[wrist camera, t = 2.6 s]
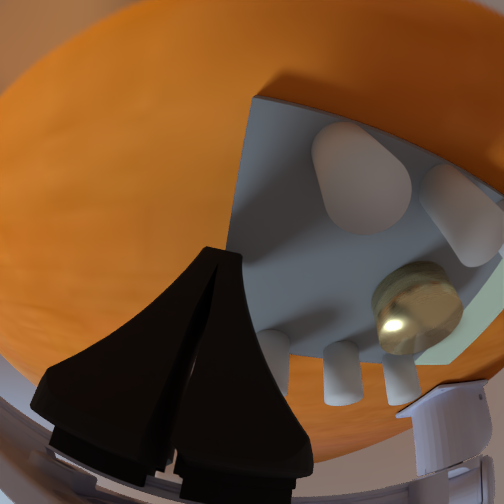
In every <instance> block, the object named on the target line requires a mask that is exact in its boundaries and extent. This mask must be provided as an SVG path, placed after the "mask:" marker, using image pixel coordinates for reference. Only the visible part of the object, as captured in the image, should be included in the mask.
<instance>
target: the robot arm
mask: <svg viewBox="0 0 504 504" xmlns="http://www.w3.org/2000/svg"><path fill="white" fill-rule="evenodd" d="M242 259H243V256H242V255H241V254H240V253H236V252H231V251H226V250H221V249H217V248H212V247H207V246H206V247H205V248H203V249H202V251H201V252H200V253H199V254H198V256H197V257H196V258H195V259H194V261H193V262H192V263H191V264H190V265H189V266H188V267H187V268H186V270H185V271H184V272H183V273H182V274H181V275H180V276H179V277H178V278H177V279H176V280H175V281H174V282H173V283H172V284H171V285H170V286H169V287H168V288H167V289H166V290H165V291H164V292H163V293H162V294H161V295H159V296H158V297H157V298H156V299H155V300H154V301H153V302H152V303H151V304H149V305H148V306H147V307H146V308H145V309H144V310H142V311H141V312H140V313H139V314H137V315H136V316H135V317H134V318H132V319H131V320H130V321H128V322H127V323H125V324H124V325H123V326H121V327H120V328H118V329H117V330H116V331H114V332H113V333H111V334H110V335H108V336H107V337H105V338H103V339H102V340H100V341H98V342H97V343H95V344H93V345H92V346H90V347H88V348H87V349H85V350H83V351H82V352H80V353H78V354H76V355H74V356H72V357H70V358H68V359H66V360H64V361H62V362H60V363H58V364H56V365H53V366H51V367H49V368H48V369H47V370H46V372H45V374H44V375H43V377H42V378H41V380H40V382H39V385H38V387H37V389H36V392H35V394H34V396H33V399H32V401H31V403H30V407H31V409H32V410H33V411H35V412H36V413H37V414H39V415H40V416H41V417H43V418H44V419H46V420H47V421H49V422H50V423H52V424H53V425H55V427H54V430H53V432H51V431H49V430H47V429H46V428H44V427H43V426H41V425H40V424H38V423H36V422H35V421H33V420H32V419H30V418H29V417H27V416H26V415H24V414H23V413H22V412H20V411H19V410H17V409H16V408H15V407H13V406H12V405H10V404H9V403H8V402H6V400H4V399H3V398H2V397H0V489H1V490H2V492H4V494H5V495H6V496H7V497H8V498H9V499H10V500H11V501H12V502H13V503H14V504H151V503H148V502H144V501H141V500H138V499H134V498H131V497H128V496H125V495H122V494H119V493H117V492H114V491H111V490H108V489H106V488H103V487H101V486H98V485H96V483H97V478H96V477H95V476H93V475H91V474H89V473H88V472H86V471H84V470H82V469H81V468H78V467H76V466H74V465H72V464H69V463H67V462H65V461H63V460H60V459H58V458H56V456H55V453H57V454H59V455H61V456H62V457H64V458H66V459H68V460H70V461H71V462H73V463H75V464H77V465H79V466H81V467H83V468H85V469H87V470H89V471H92V472H94V473H96V474H98V475H100V476H103V477H105V478H108V479H110V480H112V481H114V482H117V483H120V484H122V485H125V486H128V487H131V488H133V489H136V490H139V491H142V492H145V493H148V494H151V495H155V496H158V497H162V498H165V499H169V500H173V501H177V502H181V503H186V504H494V496H495V478H494V465H493V459H492V457H489V456H488V455H486V456H484V457H483V456H482V455H479V456H477V457H475V458H473V459H470V460H468V461H466V462H463V461H465V460H467V459H469V458H472V457H474V456H476V455H478V454H480V453H481V452H482V451H483V450H484V449H485V448H486V446H487V445H488V443H489V441H490V439H491V435H492V423H491V417H490V413H489V409H488V404H487V400H486V396H485V392H484V388H483V386H484V385H486V384H487V383H488V381H487V380H479V381H472V382H464V383H455V384H444V385H439V386H437V387H436V388H434V389H433V390H432V391H430V392H429V393H428V394H426V395H425V396H423V397H422V398H420V399H419V400H418V401H416V402H415V403H413V404H412V405H410V406H408V407H407V408H405V409H404V410H402V411H401V412H399V413H397V414H396V418H403V417H412V423H413V431H414V440H415V451H416V464H417V477H419V476H423V475H426V474H429V473H432V472H435V473H433V474H430V475H427V476H424V477H421V478H417V479H414V480H412V481H410V482H406V483H402V484H398V485H394V486H389V487H385V488H382V489H377V490H372V491H366V492H360V493H352V494H343V495H332V496H318V497H292V489H295V488H296V479H297V478H302V477H307V476H310V475H311V474H312V473H313V466H314V463H313V453H312V448H311V443H310V439H309V436H308V435H307V433H306V432H305V430H304V429H303V427H302V426H301V425H300V423H299V421H298V420H297V418H296V417H295V415H294V414H293V412H292V410H291V409H290V407H289V405H288V403H287V402H286V400H285V398H284V396H283V395H282V393H281V391H280V389H279V387H278V385H277V383H276V381H275V379H274V377H273V375H272V373H271V371H270V368H269V366H268V364H267V362H266V359H265V357H264V354H263V352H262V349H261V347H260V344H259V341H258V339H257V336H256V333H255V330H254V326H253V323H252V319H251V316H250V312H249V308H248V304H247V299H246V294H245V289H244V282H243V272H242ZM196 356H197V357H196ZM195 359H196V361H195ZM194 362H195V364H194ZM193 365H194V367H193ZM192 369H193V370H192ZM191 372H192V374H191ZM190 376H191V377H190ZM175 449H176V451H177V457H176V461H175V466H174V470H173V474H176V475H179V477H180V478H182V479H183V481H182V484H179V483H175V482H171V481H167V480H164V479H160V478H157V477H155V473H156V471H159V472H162V473H164V472H165V469H166V466H168V465H170V464H172V463H173V459H174V453H175ZM54 452H55V453H54Z"/></svg>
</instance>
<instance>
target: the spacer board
mask: <svg viewBox="0 0 504 504" xmlns="http://www.w3.org/2000/svg"><path fill="white" fill-rule="evenodd" d="M226 251H231V252H236V253H240V254H241V255H242V256H243V259H242V272H243V282H244V289H245V294H246V299H247V304H248V308H249V312H250V316H251V319H252V323H253V326H254V330H255V333H256V336H257V339H258V341H259V344H260V347H261V349H262V352H263V354H264V357H265V359H266V362H267V364H268V366H269V368H270V371H271V373H272V375H273V377H274V379H275V381H276V383H277V385H278V387H279V389H280V391H281V393H282V395H283V396H284V397H285V396H286V395H287V394H288V377H289V354H294V355H301V356H308V357H316V358H323V372H324V402H325V403H326V404H328V405H332V406H343V405H349V404H353V403H356V402H358V401H360V400H361V399H362V398H363V396H364V395H363V385H362V376H361V368H360V362H368V363H382V365H383V371H384V377H385V383H386V390H387V397H388V404H389V405H401V404H405V403H408V402H411V401H413V400H415V399H417V398H418V397H419V396H420V395H421V388H420V383H419V379H418V374H417V370H416V366H415V365H448V364H450V363H451V362H452V361H453V360H454V359H455V358H456V357H457V356H458V355H460V354H461V353H462V352H463V351H464V350H465V349H466V348H467V347H468V346H469V345H470V344H471V343H472V342H473V341H474V340H475V339H476V338H477V337H478V336H479V335H480V334H481V333H482V332H483V331H484V330H485V329H486V328H487V327H488V326H489V324H490V323H491V322H492V321H493V320H494V319H495V318H496V317H497V315H498V314H499V313H500V312H501V311H502V310H503V308H504V195H503V194H502V193H500V192H499V191H497V190H496V189H494V188H493V187H491V186H490V185H488V184H487V183H485V182H483V181H482V180H480V179H479V178H477V177H475V176H474V175H472V174H470V173H469V172H467V171H465V170H464V169H462V168H460V167H458V166H456V165H455V164H453V163H451V162H449V161H447V160H445V159H443V158H442V157H440V156H438V155H436V154H434V153H432V152H430V151H428V150H425V149H423V148H421V147H419V146H417V145H415V144H413V143H410V142H408V141H406V140H404V139H401V138H399V137H397V136H394V135H392V134H389V133H387V132H384V131H382V130H379V129H377V128H374V127H371V126H369V125H366V124H363V123H360V122H357V121H354V120H352V119H349V118H346V117H342V116H339V115H336V114H333V113H330V112H326V111H323V110H319V109H316V108H312V107H308V106H304V105H301V104H297V103H292V102H288V101H284V100H279V99H275V98H270V97H265V96H260V95H255V96H254V97H253V98H252V103H251V108H250V113H249V118H248V123H247V128H246V134H245V139H244V144H243V150H242V155H241V161H240V166H239V172H238V178H237V183H236V189H235V195H234V201H233V207H232V213H231V219H230V225H229V231H228V237H227V244H226ZM417 261H431V262H434V263H437V264H439V265H440V266H441V267H443V269H444V270H445V272H446V273H447V275H448V277H449V279H450V281H451V283H452V284H453V286H454V288H455V290H456V292H457V294H458V296H459V298H460V300H461V302H462V305H463V316H462V318H461V321H460V322H459V324H458V325H457V327H456V328H455V329H454V331H453V332H452V333H451V334H450V335H449V336H447V337H446V338H445V339H444V340H442V341H441V342H439V343H438V344H436V345H434V346H433V347H430V348H428V349H426V350H424V351H421V352H418V353H414V354H408V355H394V354H390V353H387V352H386V351H384V350H383V349H382V348H381V346H380V343H379V338H378V334H377V329H376V325H375V321H374V316H373V312H372V308H371V299H372V295H373V293H374V291H375V289H376V287H377V286H378V285H379V283H380V282H381V281H382V280H383V279H384V278H385V277H386V276H388V275H389V274H390V273H391V272H393V271H395V270H396V269H398V268H400V267H402V266H404V265H406V264H409V263H413V262H417Z"/></svg>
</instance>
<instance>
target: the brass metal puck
mask: <svg viewBox="0 0 504 504" xmlns="http://www.w3.org/2000/svg"><path fill="white" fill-rule="evenodd" d="M371 308H372V312H373V316H374V321H375V325H376V329H377V334H378V338H379V343H380V346H381V348H382V349H383V350H384V351H386V352H387V353H390V354H394V355H408V354H414V353H418V352H421V351H424V350H426V349H428V348H430V347H433V346H434V345H436V344H438V343H439V342H441V341H442V340H444V339H445V338H446V337H447V336H449V335H450V334H451V333H452V332H453V331H454V329H455V328H456V327H457V325H458V324H459V322H460V321H461V318H462V316H463V305H462V302H461V300H460V298H459V296H458V294H457V292H456V290H455V288H454V286H453V284H452V283H451V281H450V279H449V277H448V275H447V273H446V272H445V270H444V269H443V267H441V266H440V265H439V264H437V263H434V262H431V261H417V262H413V263H409V264H406V265H404V266H402V267H400V268H398V269H396V270H395V271H393V272H391V273H390V274H389V275H388V276H386V277H385V278H384V279H383V280H382V281H381V282H380V283H379V285H378V286H377V287H376V289H375V291H374V293H373V295H372V299H371Z"/></svg>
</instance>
